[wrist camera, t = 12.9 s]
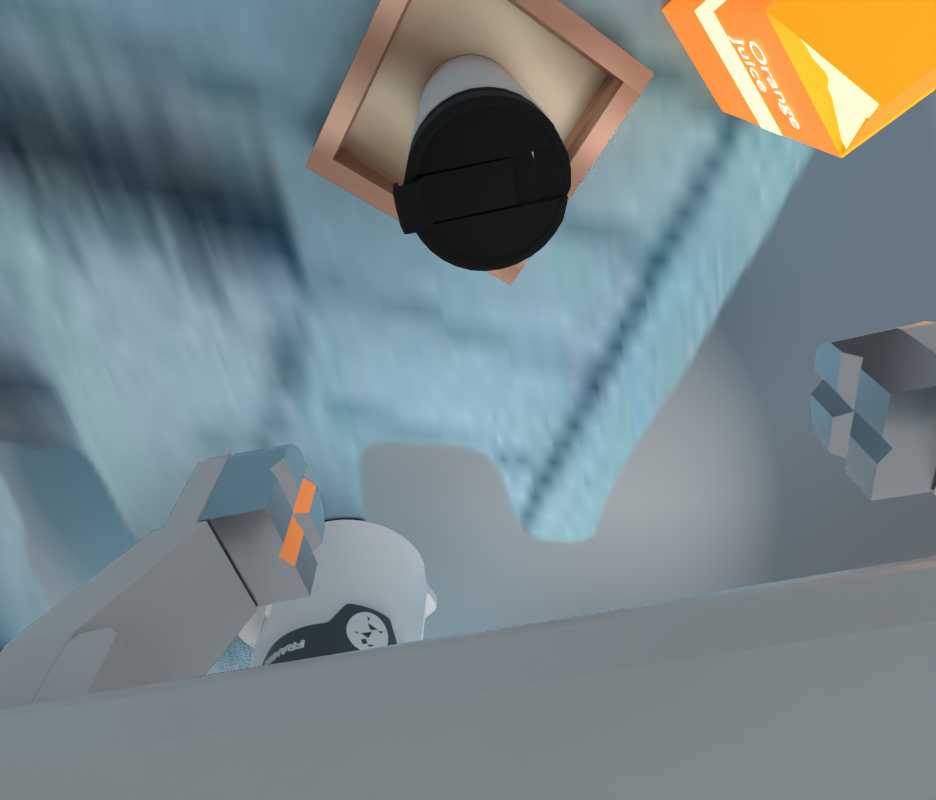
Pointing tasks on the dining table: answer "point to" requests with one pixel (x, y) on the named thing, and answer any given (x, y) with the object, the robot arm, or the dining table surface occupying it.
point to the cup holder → (482, 33)
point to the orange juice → (812, 62)
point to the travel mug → (482, 168)
